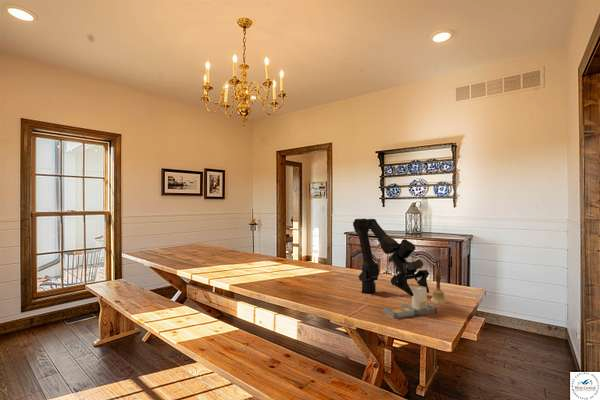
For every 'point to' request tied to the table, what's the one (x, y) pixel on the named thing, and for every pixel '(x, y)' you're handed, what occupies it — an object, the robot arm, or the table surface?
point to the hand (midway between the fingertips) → (420, 294)
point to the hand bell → (438, 290)
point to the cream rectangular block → (419, 297)
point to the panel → (409, 311)
